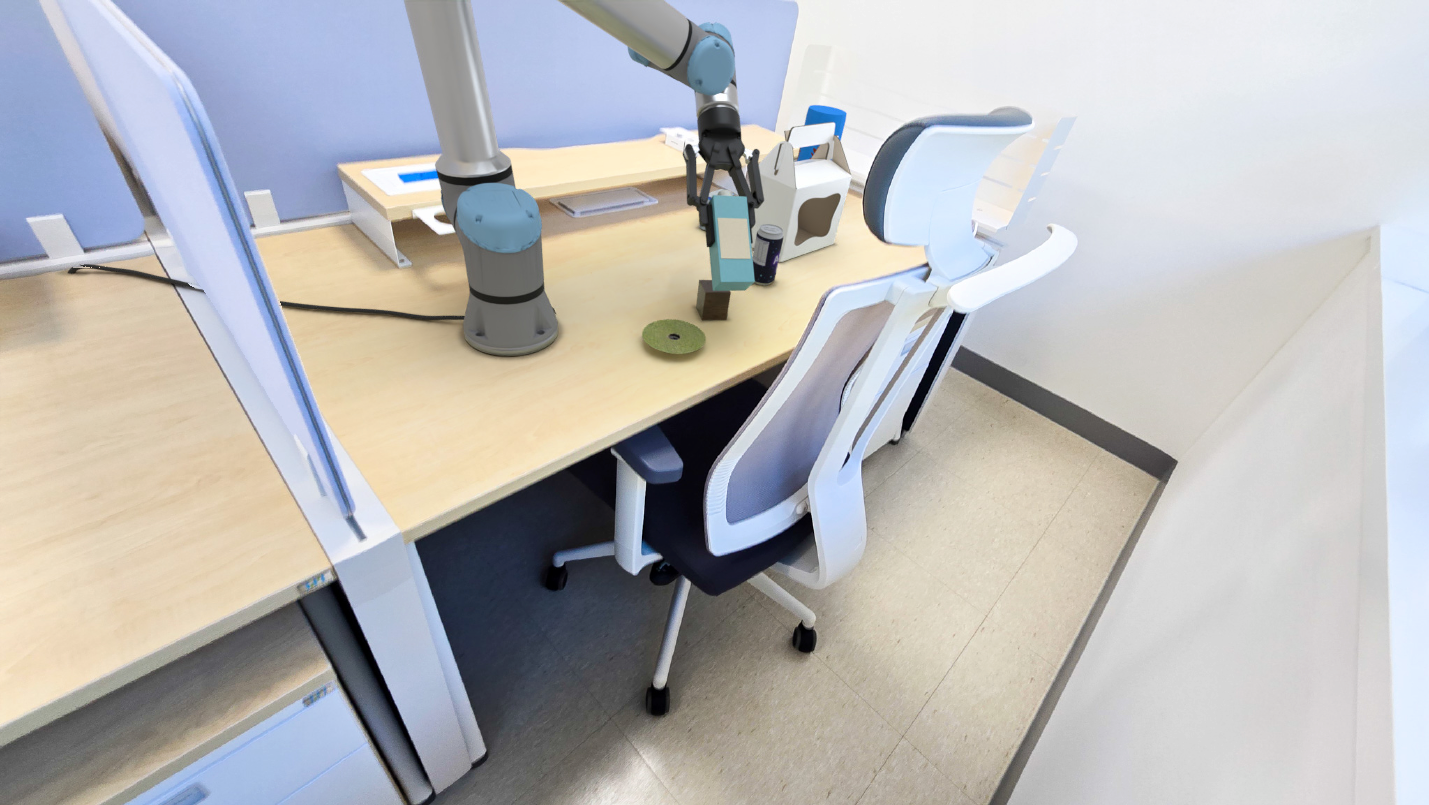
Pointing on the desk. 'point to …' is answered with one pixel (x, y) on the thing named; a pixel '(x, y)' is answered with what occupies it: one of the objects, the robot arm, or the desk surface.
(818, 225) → the gable box
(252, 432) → the desk surface
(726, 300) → the walnut block
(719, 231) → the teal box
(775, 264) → the beverage can
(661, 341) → the green disc
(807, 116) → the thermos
